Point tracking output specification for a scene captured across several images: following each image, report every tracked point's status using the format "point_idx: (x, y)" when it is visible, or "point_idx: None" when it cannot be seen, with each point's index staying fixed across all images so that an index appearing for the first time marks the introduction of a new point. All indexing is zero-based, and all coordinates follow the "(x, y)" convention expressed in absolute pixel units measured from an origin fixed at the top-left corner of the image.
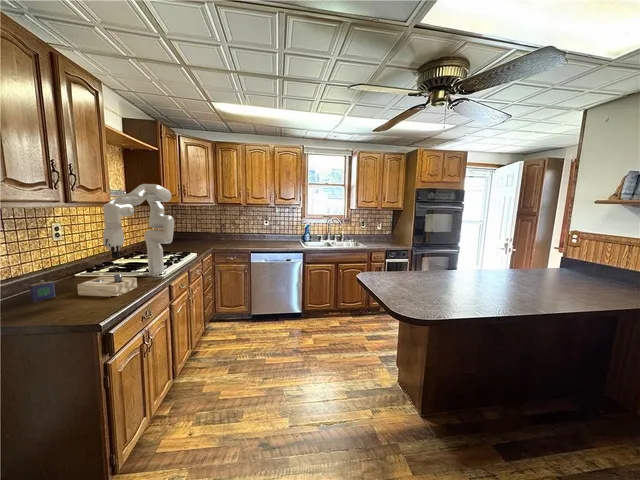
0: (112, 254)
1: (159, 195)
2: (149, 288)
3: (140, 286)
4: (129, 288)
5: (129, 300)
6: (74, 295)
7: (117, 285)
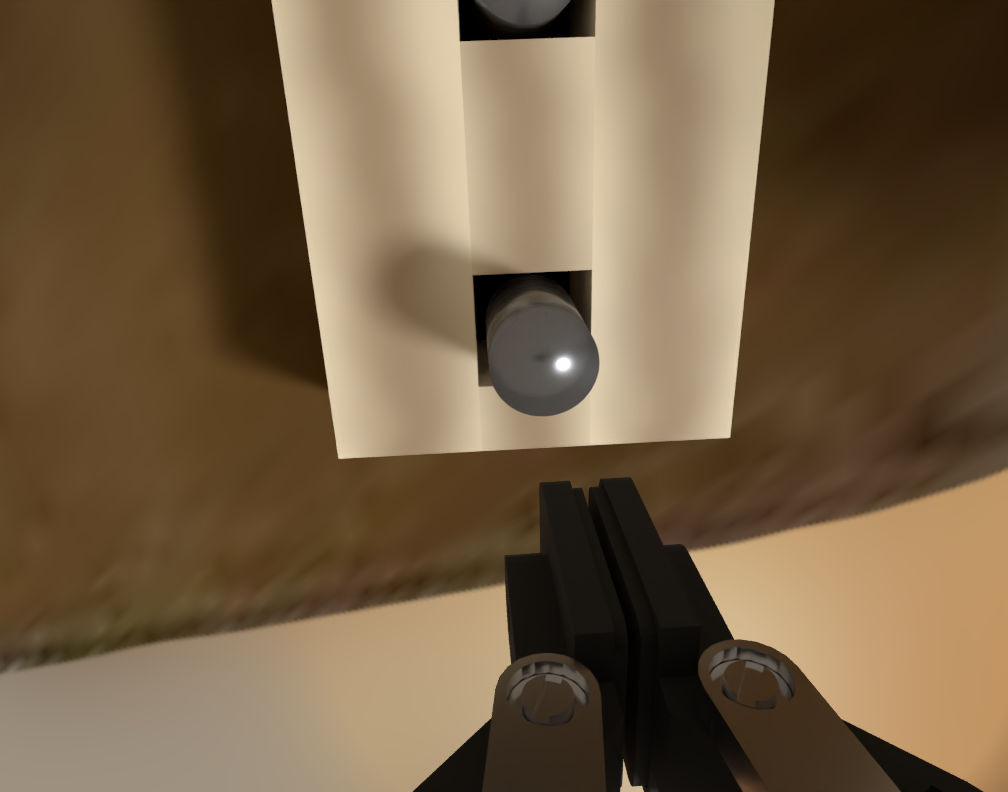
0: (512, 611)
1: None
2: (660, 527)
3: None
4: None
5: (303, 578)
6: None
7: (371, 450)
